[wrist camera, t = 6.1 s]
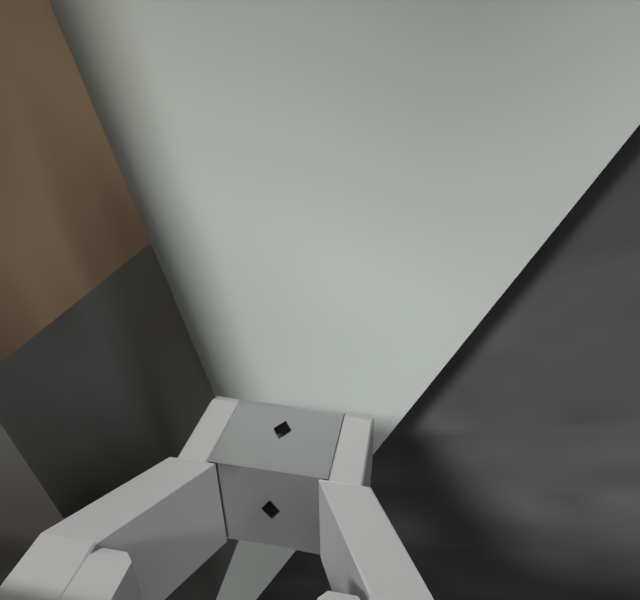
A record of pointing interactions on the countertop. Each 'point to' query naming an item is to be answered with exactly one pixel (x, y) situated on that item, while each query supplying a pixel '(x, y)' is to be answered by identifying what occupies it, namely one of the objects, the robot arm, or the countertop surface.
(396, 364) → the press board
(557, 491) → the countertop surface
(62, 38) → the lever
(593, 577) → the countertop surface
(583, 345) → the countertop surface
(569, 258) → the countertop surface
